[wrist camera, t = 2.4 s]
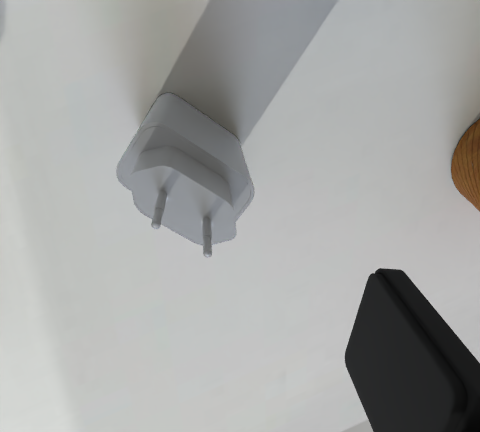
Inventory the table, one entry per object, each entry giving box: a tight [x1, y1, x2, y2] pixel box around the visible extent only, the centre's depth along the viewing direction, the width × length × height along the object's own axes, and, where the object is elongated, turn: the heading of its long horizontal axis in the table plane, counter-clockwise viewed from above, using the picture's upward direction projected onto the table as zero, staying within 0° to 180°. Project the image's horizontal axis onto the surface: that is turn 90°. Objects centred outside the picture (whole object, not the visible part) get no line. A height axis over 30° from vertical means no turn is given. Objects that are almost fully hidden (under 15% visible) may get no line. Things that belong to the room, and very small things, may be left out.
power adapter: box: [116, 93, 254, 257], centre depth 17 cm, size 3×5×12 cm, turn 54°
